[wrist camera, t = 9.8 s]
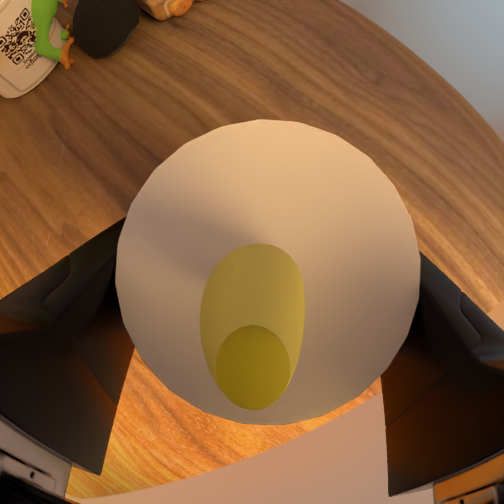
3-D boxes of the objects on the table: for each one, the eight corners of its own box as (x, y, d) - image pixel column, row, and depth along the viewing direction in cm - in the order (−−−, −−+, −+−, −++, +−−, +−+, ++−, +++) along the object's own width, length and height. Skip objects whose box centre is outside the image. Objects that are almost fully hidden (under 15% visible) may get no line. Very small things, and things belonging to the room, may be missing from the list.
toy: (69, -24, 21) (-10, 3, 17) (72, -62, 14) (-26, -28, 10) (80, 78, 28) (-1, 109, 24) (81, 61, 20) (-24, 102, 16)
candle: (340, 241, 17) (608, 131, 2) (287, 354, 16) (410, 611, 1) (232, 189, 17) (174, -98, 2) (178, 301, 16) (-94, 392, 2)
